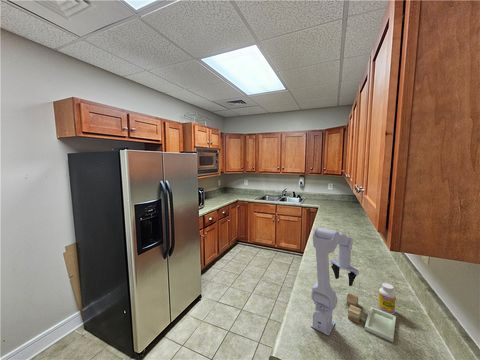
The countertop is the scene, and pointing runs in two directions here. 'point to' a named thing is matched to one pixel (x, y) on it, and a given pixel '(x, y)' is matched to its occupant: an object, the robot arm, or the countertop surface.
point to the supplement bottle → (387, 298)
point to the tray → (381, 324)
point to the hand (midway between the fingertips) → (343, 281)
